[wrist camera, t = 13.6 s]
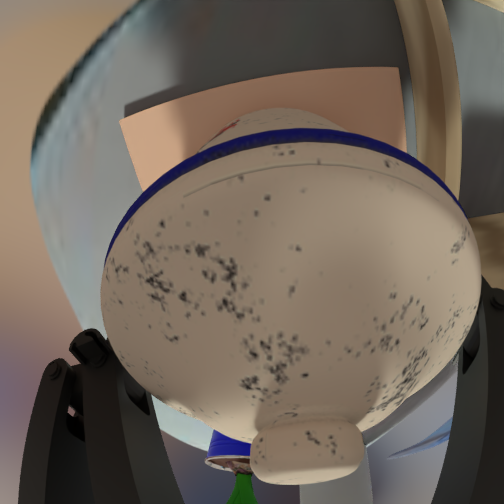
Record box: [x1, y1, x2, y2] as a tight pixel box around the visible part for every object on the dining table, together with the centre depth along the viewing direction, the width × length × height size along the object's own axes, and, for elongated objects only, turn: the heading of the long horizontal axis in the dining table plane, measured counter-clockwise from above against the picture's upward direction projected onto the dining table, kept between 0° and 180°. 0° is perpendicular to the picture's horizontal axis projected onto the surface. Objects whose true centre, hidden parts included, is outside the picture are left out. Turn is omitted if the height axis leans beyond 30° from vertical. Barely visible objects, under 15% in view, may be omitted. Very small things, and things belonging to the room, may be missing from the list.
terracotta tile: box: [119, 67, 407, 192], centre depth 15 cm, size 14×14×1 cm
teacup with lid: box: [101, 108, 482, 485], centre depth 9 cm, size 12×9×12 cm
